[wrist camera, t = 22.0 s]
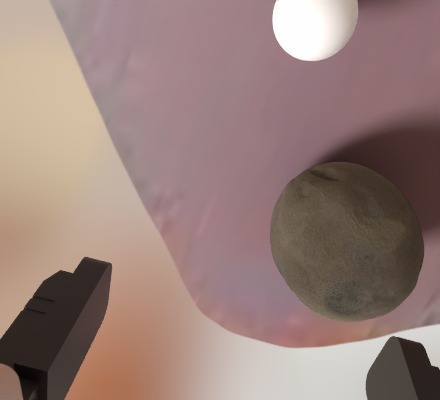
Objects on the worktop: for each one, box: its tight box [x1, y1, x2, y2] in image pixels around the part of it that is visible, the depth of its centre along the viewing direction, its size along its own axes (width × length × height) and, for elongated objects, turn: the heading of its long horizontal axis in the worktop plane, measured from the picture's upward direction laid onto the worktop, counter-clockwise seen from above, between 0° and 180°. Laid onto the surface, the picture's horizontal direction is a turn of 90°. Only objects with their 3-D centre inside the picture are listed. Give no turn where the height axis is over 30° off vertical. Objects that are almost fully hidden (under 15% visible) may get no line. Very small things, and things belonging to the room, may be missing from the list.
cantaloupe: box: [270, 162, 424, 322], centre depth 40 cm, size 14×14×15 cm
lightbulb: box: [273, 0, 358, 61], centre depth 33 cm, size 6×6×11 cm
